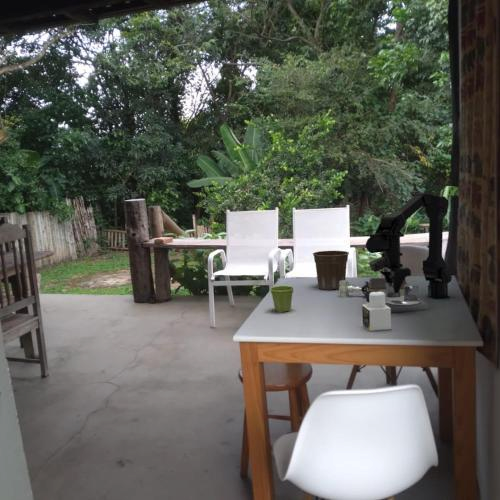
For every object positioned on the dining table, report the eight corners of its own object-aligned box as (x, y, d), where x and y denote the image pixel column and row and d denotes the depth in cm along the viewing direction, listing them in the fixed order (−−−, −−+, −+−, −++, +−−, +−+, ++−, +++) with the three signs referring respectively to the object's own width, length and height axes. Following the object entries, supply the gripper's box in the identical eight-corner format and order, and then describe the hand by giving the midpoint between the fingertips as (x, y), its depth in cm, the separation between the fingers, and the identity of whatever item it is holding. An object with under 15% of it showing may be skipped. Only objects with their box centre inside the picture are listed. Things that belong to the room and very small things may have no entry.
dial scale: (411, 300, 189) (411, 294, 189) (429, 309, 175) (429, 302, 175) (369, 304, 187) (369, 298, 187) (383, 313, 173) (383, 306, 173)
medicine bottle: (362, 325, 161) (361, 289, 159) (383, 323, 162) (382, 288, 160) (369, 331, 154) (368, 294, 152) (391, 329, 154) (390, 292, 153)
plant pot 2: (355, 285, 225) (354, 250, 223) (342, 292, 211) (340, 255, 209) (322, 283, 233) (321, 250, 231) (308, 290, 220) (306, 255, 218)
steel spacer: (397, 295, 183) (396, 281, 183) (402, 296, 178) (401, 283, 178) (384, 296, 183) (383, 283, 182) (389, 298, 178) (388, 284, 177)
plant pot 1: (297, 307, 189) (296, 285, 188) (291, 313, 181) (290, 291, 180) (274, 307, 193) (273, 285, 191) (267, 313, 184) (266, 290, 183)
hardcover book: (405, 282, 226) (405, 277, 225) (407, 293, 204) (407, 288, 203) (370, 282, 230) (369, 278, 230) (368, 293, 208) (367, 288, 208)
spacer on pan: (414, 297, 184) (414, 284, 184) (420, 299, 179) (420, 286, 179) (401, 298, 184) (401, 285, 183) (407, 301, 179) (407, 287, 178)
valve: (337, 298, 202) (366, 299, 197) (337, 282, 201) (366, 283, 196) (341, 294, 208) (369, 295, 203) (340, 279, 207) (369, 279, 202)
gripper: (362, 248, 187) (363, 288, 189) (380, 255, 168) (382, 298, 170) (390, 246, 188) (391, 286, 190) (411, 252, 169) (412, 296, 171)
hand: (393, 291), depth 180 cm, fingers closed on steel spacer, 5 cm apart
